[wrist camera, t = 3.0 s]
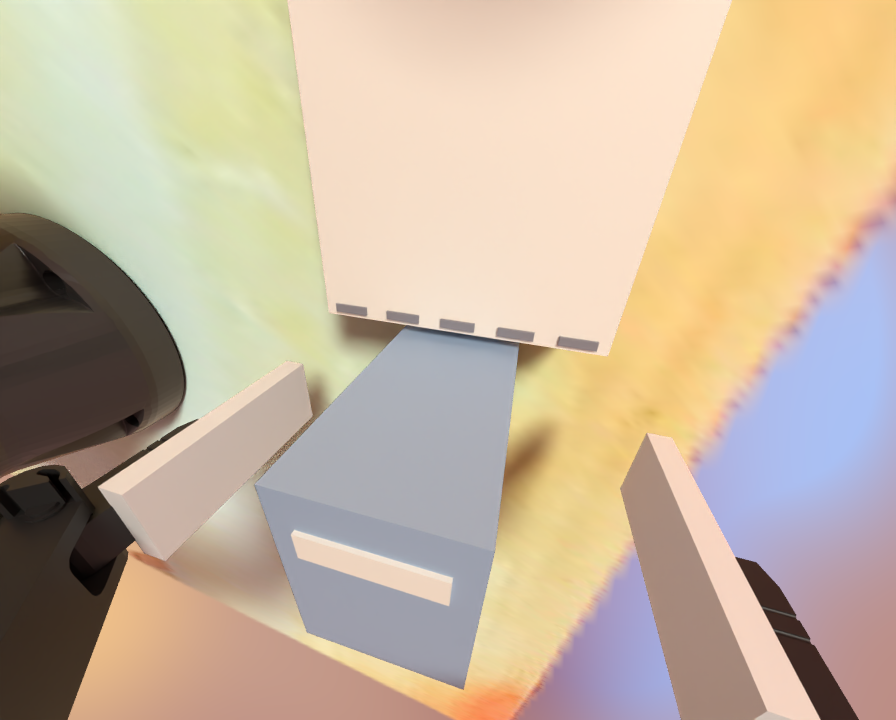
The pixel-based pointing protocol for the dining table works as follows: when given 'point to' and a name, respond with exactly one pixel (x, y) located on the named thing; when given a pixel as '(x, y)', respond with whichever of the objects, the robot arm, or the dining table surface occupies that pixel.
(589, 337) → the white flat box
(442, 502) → the stub
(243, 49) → the dining table surface
